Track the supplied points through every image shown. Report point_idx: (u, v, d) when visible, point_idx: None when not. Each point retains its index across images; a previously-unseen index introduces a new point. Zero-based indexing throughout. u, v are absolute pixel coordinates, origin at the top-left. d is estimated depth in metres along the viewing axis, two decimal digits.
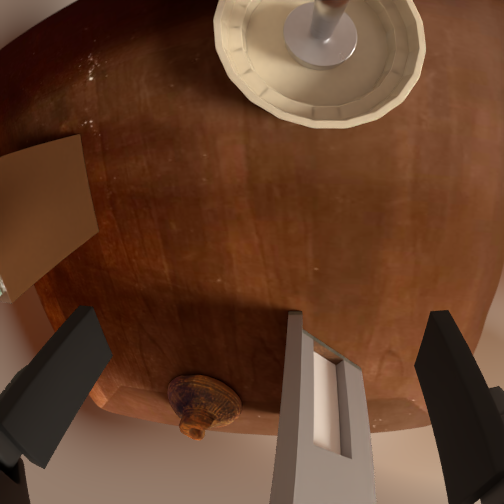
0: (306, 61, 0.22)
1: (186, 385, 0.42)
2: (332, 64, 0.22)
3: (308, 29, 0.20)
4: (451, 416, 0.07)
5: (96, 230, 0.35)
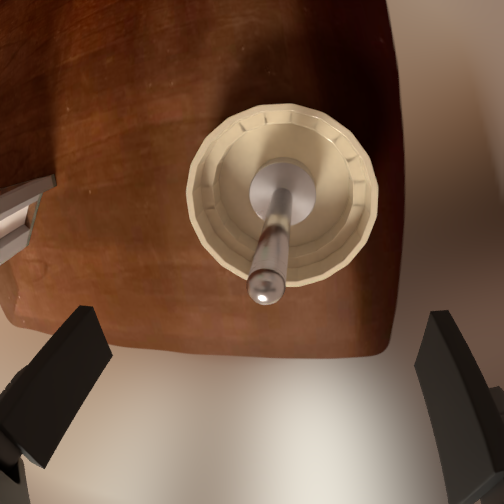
0: (252, 181, 0.28)
1: None
2: (251, 203, 0.29)
3: (285, 184, 0.28)
4: (451, 416, 0.07)
5: None
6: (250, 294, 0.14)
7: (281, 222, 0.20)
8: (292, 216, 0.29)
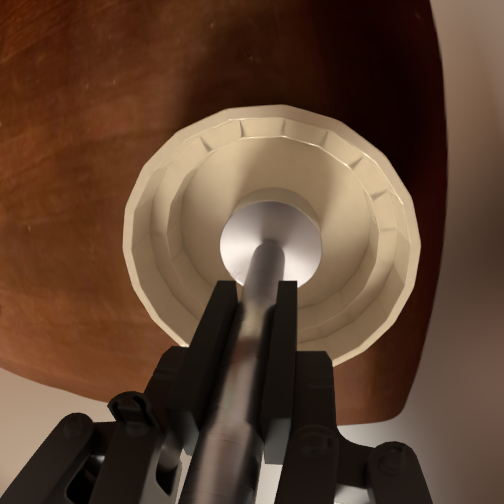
0: (224, 229, 0.18)
1: None
2: (223, 261, 0.19)
3: (274, 235, 0.18)
4: None
5: None
6: None
7: (257, 348, 0.10)
8: None
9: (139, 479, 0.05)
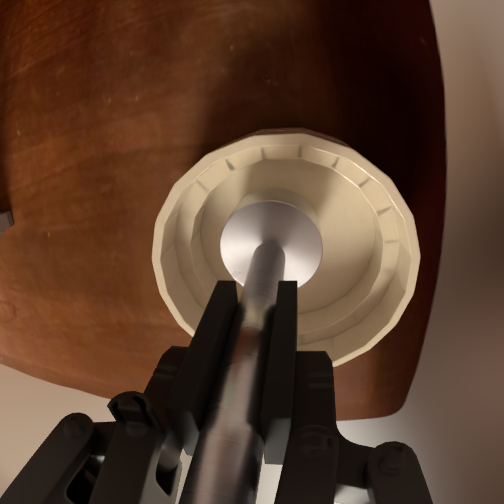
0: (224, 229, 0.18)
1: None
2: (224, 261, 0.19)
3: (274, 235, 0.18)
4: None
5: None
6: None
7: (258, 347, 0.10)
8: (285, 280, 0.19)
9: (139, 479, 0.05)
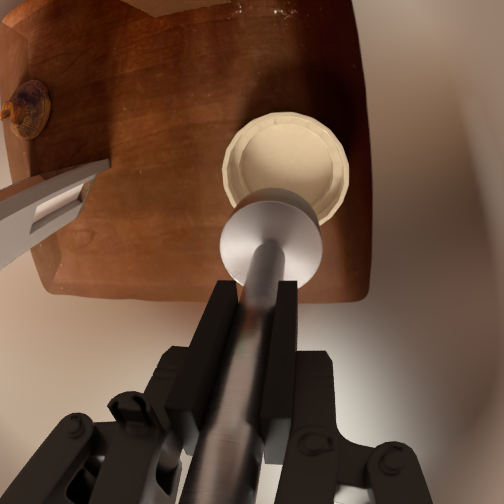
0: (224, 229, 0.18)
1: (41, 95, 0.41)
2: (223, 262, 0.19)
3: (274, 235, 0.18)
4: None
5: (155, 16, 0.36)
6: None
7: (258, 348, 0.10)
8: None
9: (139, 479, 0.05)
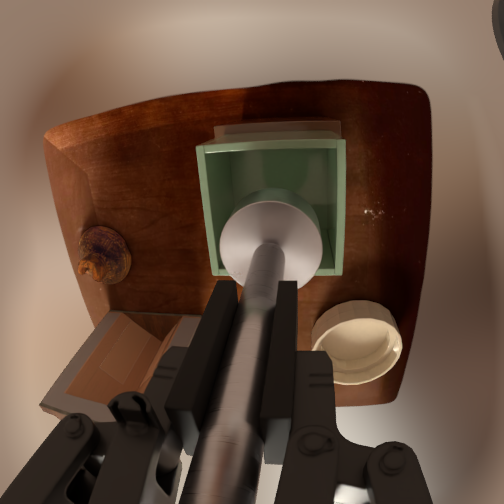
0: (224, 230, 0.18)
1: (121, 251, 0.53)
2: (223, 262, 0.19)
3: (274, 235, 0.18)
4: None
5: None
6: None
7: (257, 349, 0.10)
8: None
9: (139, 479, 0.05)
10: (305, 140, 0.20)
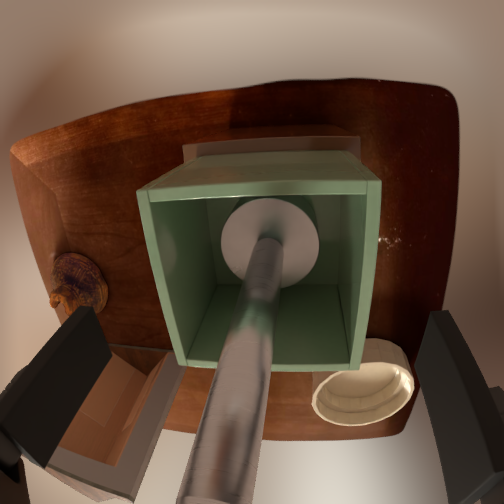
0: (224, 226, 0.19)
1: (96, 282, 0.45)
2: (224, 257, 0.20)
3: (273, 231, 0.19)
4: (451, 416, 0.07)
5: None
6: None
7: (257, 335, 0.11)
8: (284, 276, 0.20)
9: None
10: (314, 181, 0.12)
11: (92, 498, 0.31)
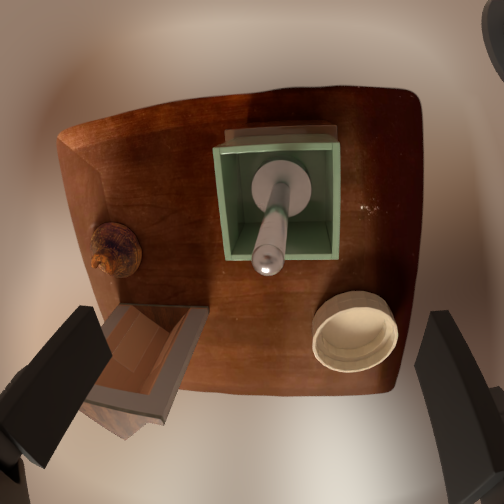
0: (254, 177, 0.31)
1: (133, 246, 0.57)
2: (253, 197, 0.32)
3: (283, 180, 0.30)
4: (451, 416, 0.07)
5: None
6: (255, 266, 0.17)
7: (280, 210, 0.23)
8: (290, 209, 0.32)
9: None
10: (306, 143, 0.24)
11: (121, 435, 0.43)
